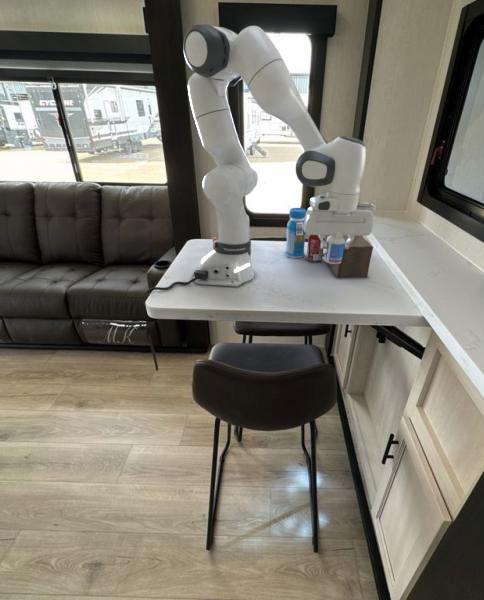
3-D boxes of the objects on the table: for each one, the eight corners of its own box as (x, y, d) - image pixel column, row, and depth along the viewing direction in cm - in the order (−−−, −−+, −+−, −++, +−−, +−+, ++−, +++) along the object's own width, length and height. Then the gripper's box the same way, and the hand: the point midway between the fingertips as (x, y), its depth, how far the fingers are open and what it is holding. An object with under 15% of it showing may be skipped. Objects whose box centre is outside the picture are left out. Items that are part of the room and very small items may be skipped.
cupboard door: (326, 278, 116) (330, 247, 110) (317, 261, 129) (320, 233, 123) (338, 277, 116) (343, 247, 110) (328, 261, 130) (331, 233, 124)
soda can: (323, 262, 129) (326, 235, 123) (307, 262, 129) (309, 234, 123) (321, 256, 135) (324, 230, 129) (305, 256, 135) (308, 229, 128)
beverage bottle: (282, 256, 134) (284, 210, 123) (288, 250, 140) (291, 206, 130) (300, 259, 131) (304, 213, 121) (306, 253, 138) (310, 208, 128)
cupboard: (339, 278, 116) (344, 246, 110) (328, 261, 130) (332, 233, 124) (366, 277, 118) (373, 246, 111) (353, 261, 131) (358, 233, 125)
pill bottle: (344, 261, 95) (350, 231, 90) (334, 266, 92) (339, 234, 87) (330, 256, 98) (335, 226, 93) (320, 260, 95) (324, 229, 90)
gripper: (373, 200, 89) (363, 245, 97) (304, 198, 87) (300, 244, 94) (381, 205, 84) (370, 252, 91) (309, 203, 82) (303, 252, 89)
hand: (334, 248), depth 93 cm, fingers closed on pill bottle, 5 cm apart
